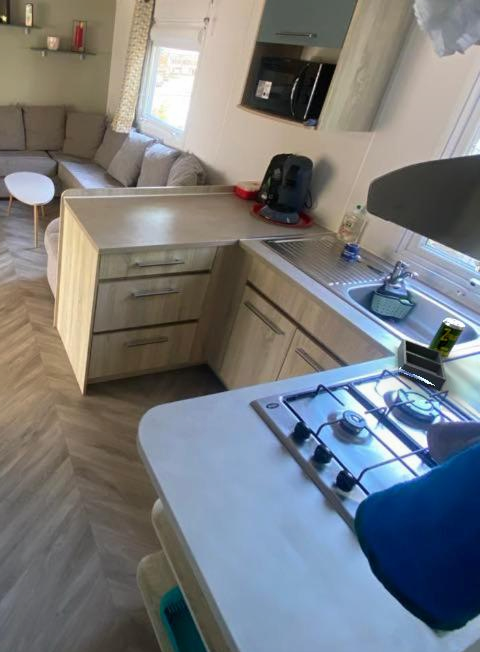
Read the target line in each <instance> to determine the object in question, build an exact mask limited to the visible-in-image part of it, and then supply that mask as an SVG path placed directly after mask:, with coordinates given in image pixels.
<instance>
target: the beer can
mask: <svg viewBox="0 0 480 652" xmlns="http://www.w3.org/2000/svg"><path fill="white" fill-rule="evenodd" d="M464 329H465V324H464V323H463V322H461V321H460V320H457V319H454V318H452V317H446V318H445V319H443V321H442V322H441V324H440V326H439V328H438V329H437V331H436V333H435V334H434V336H433V338H432V340H431V341H430V343H429V345H428V346H427V348H430V349H433V350H436V351H438V352H441V355H442V359H446V358H447V357H449V355H450V353H451V352H452V350H453V349H454V346H455V345H456V344H457V342H458V340H459V338H460V337H461V335H462V333H463V332H464Z"/></svg>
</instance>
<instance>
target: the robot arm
mask: <svg viewBox="0 0 480 652" xmlns="http://www.w3.org/2000/svg"><path fill="white" fill-rule="evenodd" d="M473 262H474V265H475V269H474V271H475V272H476V273H479V274H480V262H478V261H475V260H474V259H473Z"/></svg>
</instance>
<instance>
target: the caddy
mask: <svg viewBox="0 0 480 652" xmlns="http://www.w3.org/2000/svg"><path fill="white" fill-rule="evenodd" d="M397 367H398V368H397V370H398V369H399V368H400V367H401V369H403V370H405V371H407V372H409V373H411V374H415V375H417V376H420V377H422V378H424V379H426V380H428V381H429V382H431V383H432V384H434V385H435V386H434V385H431V384H427V383H425V382H424V381H421V380H419V379H416V378H414V377H411V376H409V375H406V374H404V373H401V372H397V373H398V376H401V377H403V378H405V379H408V380H411V381H413V382H416V383H417V384H420V385H423V386H425V387H428V388H430V389H433V390H436V391H438V392H441V390H442V389H443V387H444V386H445V383H446V382H447V376H446V375H447V374H446V370H445V366H444V361H443V358H442V355H441V352H438V351H436V350H433V349H430V348H428V346H425V345H422V344H419V343H417V342H414V341H411V340H408V339H405V338H402V340H401V341H400V344H399V346H398V347H397Z"/></svg>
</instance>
